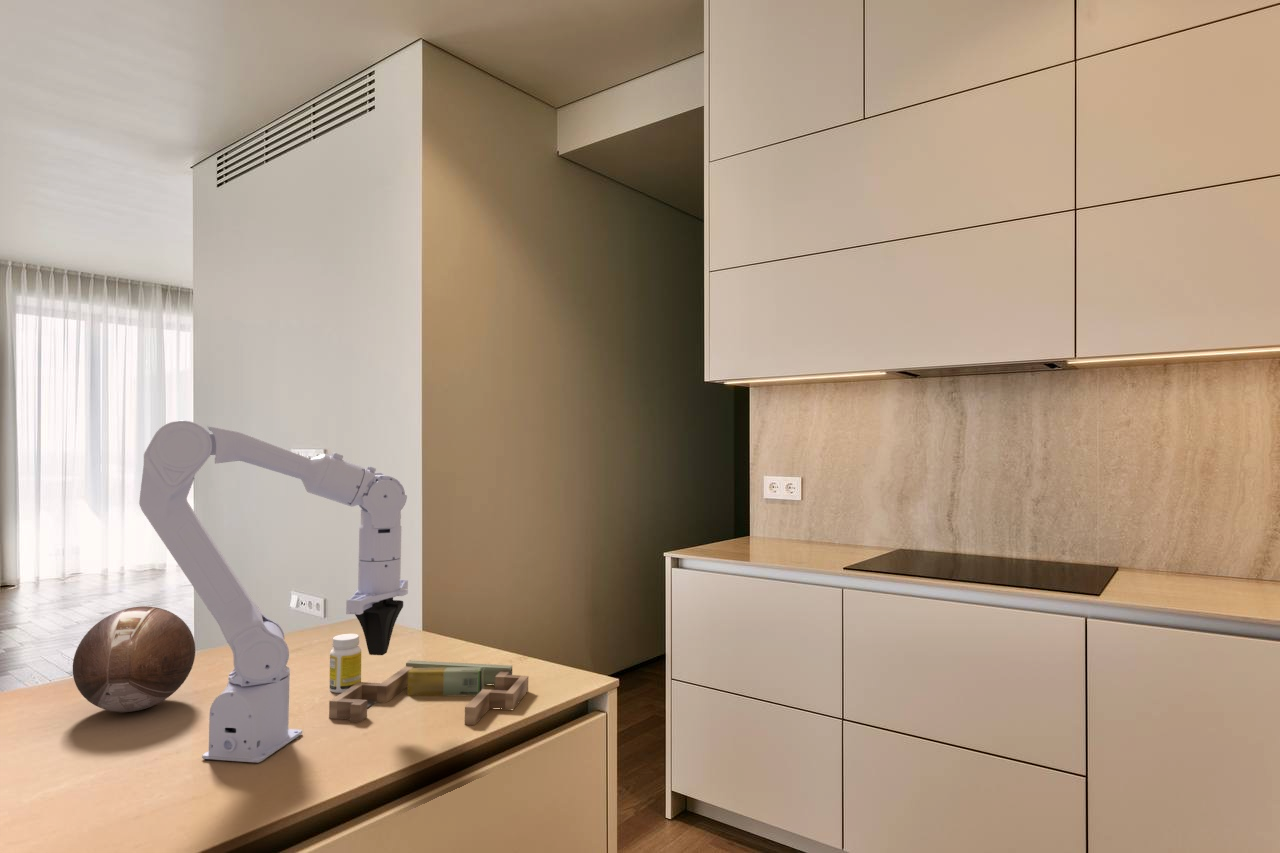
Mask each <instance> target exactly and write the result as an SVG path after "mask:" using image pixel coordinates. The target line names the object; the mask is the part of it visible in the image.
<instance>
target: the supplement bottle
mask: <svg viewBox="0 0 1280 853" xmlns="http://www.w3.org/2000/svg"><path fill="white" fill-rule="evenodd" d="M359 644H360V635H359V634H357V633H343V634H338V635H335V636H334V637H333V638H332V649H331V650H330V652H329V691H330V692H332V693H337V694H341V693H342V692H344V691H346V690H347V689H349V688H350V687H352V686H353V685H355V684H356V683H358V682H362V648H361V647H360V646H359Z"/></svg>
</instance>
